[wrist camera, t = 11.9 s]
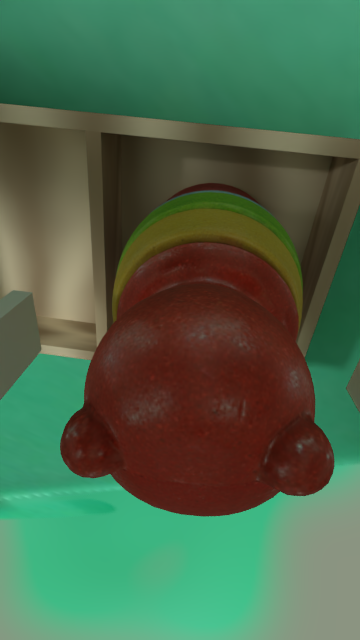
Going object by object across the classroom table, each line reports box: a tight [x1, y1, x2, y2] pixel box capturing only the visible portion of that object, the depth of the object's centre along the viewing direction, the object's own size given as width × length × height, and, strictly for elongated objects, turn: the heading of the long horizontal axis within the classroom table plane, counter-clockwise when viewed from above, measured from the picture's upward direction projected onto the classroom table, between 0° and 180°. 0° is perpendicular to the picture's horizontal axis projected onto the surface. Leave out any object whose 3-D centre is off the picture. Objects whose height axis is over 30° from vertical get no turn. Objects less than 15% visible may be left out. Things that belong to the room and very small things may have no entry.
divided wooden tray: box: [0, 103, 360, 360], centre depth 21 cm, size 28×16×4 cm, turn 85°
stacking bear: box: [60, 183, 334, 516], centre depth 15 cm, size 11×10×18 cm
